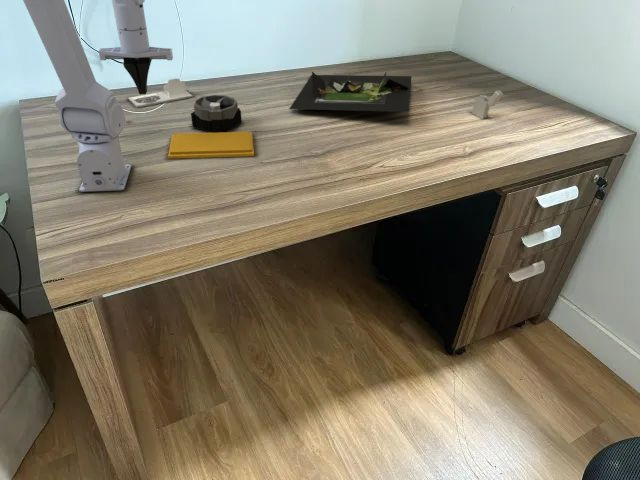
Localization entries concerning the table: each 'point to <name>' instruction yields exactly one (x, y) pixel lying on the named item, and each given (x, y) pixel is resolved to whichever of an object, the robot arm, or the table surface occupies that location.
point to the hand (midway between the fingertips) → (143, 92)
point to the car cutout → (163, 94)
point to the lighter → (485, 104)
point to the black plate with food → (355, 93)
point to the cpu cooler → (216, 113)
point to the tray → (211, 145)
